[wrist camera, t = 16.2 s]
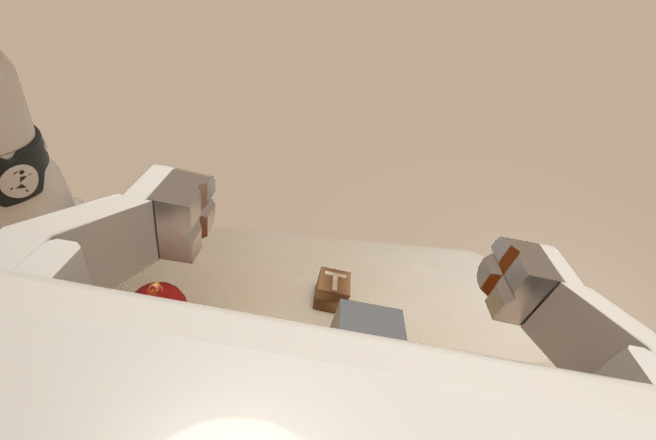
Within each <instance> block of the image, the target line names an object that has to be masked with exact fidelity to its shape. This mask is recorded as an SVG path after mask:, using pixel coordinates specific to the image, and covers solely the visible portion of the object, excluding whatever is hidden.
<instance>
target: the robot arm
mask: <svg viewBox="0 0 656 440" xmlns="http://www.w3.org/2000/svg"><path fill="white" fill-rule="evenodd" d="M214 192H215V179H214V177H213V176H209V175H204V174H200V173H195V172H191V171H186V170H182V169H178V168H174V167H169V166H164V165H159V164H157V165H153V166H152V167H151V168H150V169H149V170H148V171H147V172H146V173H145V174H144V175H143V176H142V177H141V178H140V179H139V180H138V181H136V183H134V184H133V185H132V186H131V187H130V188H129V190H127V191H126V192H125V193H124V194H123V195H121V194H114V195H110V196H107V197H104V198H100V199H97V200H93V201H90V202H87V203H83V202H82V200H80V199H78V198H75V197H73V196H72V193H71V191H70V189H69V186H68V184H67V181H66V179H65V176H64V174H63V172H62V169H61V167H60V165H59V164H58V163H57V162H56V161H53V160H51V159H49V156H48V152H47V146H46V143H45V141H44V139H43V138H42V135H41V133H40V131H39V129H38V128H37V127H36V126H35V125H33V122H32V119H31V116H30V113H29V109H28V106H27V103H26V100H25V97H24V94H23V91H22V88H21V84H20V81H19V78H18V75H17V72H16V69H15V67H14V65H13V64H12V62H11V61H10V60H9V58H8V57H7V56H6V55H5V54H4V53H3V52H2V51H1V50H0V440H656V334H655V333H654V332H652V331H651V330H650V329H648V328H647V327H645V326H644V325H642V324H641V323H640V322H638V321H637V320H635V319H634V318H632V317H631V316H630V315H628V314H627V313H625V312H624V311H622V310H621V309H620V308H618V307H617V306H615V305H614V304H612V303H611V302H610V301H608V300H607V299H605V298H604V297H602V296H601V295H600V294H598V293H597V292H595V291H594V290H592V289H591V288H588V287H585V286H584V285H583V284H582V282H581V281H580V280H579V278H578V277H577V275H576V274H575V273H574V271H573V270H572V269H571V267H570V266H569V265H568V263H567V262H566V261H565V259H564V258H563V256H562V255H561V254H560V253H559V251H558V250H557V249H556V248H555V247H553V246H551V245H545V244H539V243H532V242H527V241H522V240H515V239H511V238H505V237H499V238H498V239H497V240H496V241H495V242H494V244H493V245H492V246H491V249H492V254H490V255H489V256H487V257H485V258H483V260H482V262H481V263H480V265H479V267H478V272H477V281H478V285H479V287H480V289H481V290H482V291H483V292H484V293H485V294H486V295H487V298H486V300H485V302H486V305H487V307H488V310H489V312H490V315H491V317H492V320H496V321H501V322H505V323H510V324H515V325H519V326H521V328H522V329H523V330H524V331H525V332H526V334H527V335H528V336H529V337H530V338H531V339H532V340H533V341H534V343H535V344H536V345H537V346H538V347H539V348H540V349H541V350H542V351H543V353H544V354H545V355H546V356H547V357H548V358H549V359H550V360H551V361H552V363H553V364H554V365H555V366H556V367H557V368H556V367H550V366H545V365H539V364H534V363H528V362H522V361H517V360H511V359H506V358H500V357H494V356H489V355H483V354H478V353H472V352H467V351H461V350H455V349H450V348H444V347H439V346H433V345H427V344H422V343H416V342H410V341H405V340H399V339H393V338H388V337H382V336H376V335H371V334H365V333H359V332H354V331H348V330H342V329H337V328H331V327H325V326H320V325H314V324H308V323H303V322H297V321H291V320H286V319H280V318H274V317H269V316H263V315H257V314H252V313H246V312H241V311H235V310H229V309H224V308H218V307H212V306H207V305H201V304H195V303H190V302H184V301H178V300H173V299H167V298H162V297H156V296H150V295H145V294H139V293H133V292H128V291H122V290H116V289H113V288H114V287H116V286H118V285H119V284H121V283H123V282H124V281H126V280H127V279H129V278H131V277H132V276H134V275H136V274H137V273H139V272H140V271H142V270H144V269H145V268H147V267H149V266H150V265H152V264H154V263H155V262H157V261H158V260H159V259H165V260H171V261H178V262H184V263H190V264H193V262H194V260H195V258H196V256H197V255H198V253H199V251H200V249H201V247H202V239H203V238H205V237H207V236H208V234H209V232H210V230H211V228H212V224H213V221H214V215H215V203H214V202H213V200H212V199H211V197H212V196H213V194H214Z"/></svg>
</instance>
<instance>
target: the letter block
mask: <svg viewBox="0 0 656 440" xmlns="http://www.w3.org/2000/svg"><path fill="white" fill-rule="evenodd" d="M350 278H351V273H350V272H345V271H341V270H336V269H331V268H326V267H321V270H320V273H319V277H318V281H317V284H316V290H315V297H314V304H313V309H315V310H320V311H325V312H330V313H335V312H336V309H337V306H338V303H339V301H340V299H345V300H348V299H349V297H350Z"/></svg>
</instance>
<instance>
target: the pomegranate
mask: <svg viewBox="0 0 656 440" xmlns="http://www.w3.org/2000/svg"><path fill="white" fill-rule="evenodd" d="M135 293H139V294H145V295H150V296H156V297H162V298H167V299H173V300H178V301H184V302H186V298H185V296H184V294H183V293H182V292H181V291H180V290H179V289H178V288H177V287H176V286H173V285H171V284H169V283H166V282H153V283H149V284H147V285H144V286H142V287H140V288H139V289H138V290H137V291H136V292H135Z"/></svg>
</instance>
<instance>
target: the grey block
mask: <svg viewBox="0 0 656 440" xmlns="http://www.w3.org/2000/svg"><path fill="white" fill-rule="evenodd" d="M330 327H331V328H337V329H342V330H348V331H354V332H359V333H365V334H371V335H376V336H382V337H388V338H393V339H399V340H405V341H407V336H406V329H405V323H404V316H403V310H401V309H395V308H389V307H384V306H378V305H373V304H367V303H362V302H356V301H351V300H345V299H340V301H339V303H338V306H337V309H336V312H335V315H334V318H333V320H332V323H331V326H330Z"/></svg>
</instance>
